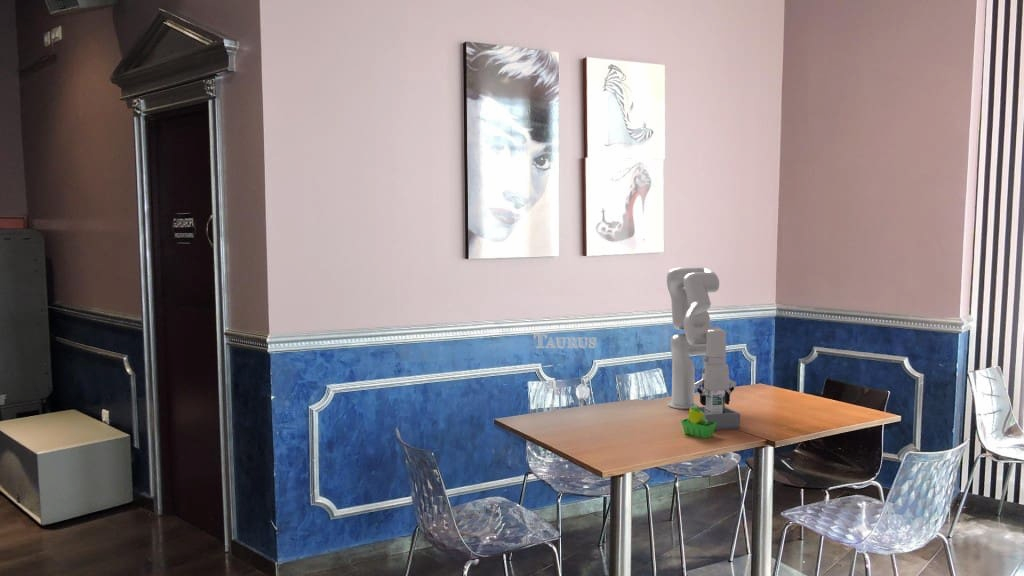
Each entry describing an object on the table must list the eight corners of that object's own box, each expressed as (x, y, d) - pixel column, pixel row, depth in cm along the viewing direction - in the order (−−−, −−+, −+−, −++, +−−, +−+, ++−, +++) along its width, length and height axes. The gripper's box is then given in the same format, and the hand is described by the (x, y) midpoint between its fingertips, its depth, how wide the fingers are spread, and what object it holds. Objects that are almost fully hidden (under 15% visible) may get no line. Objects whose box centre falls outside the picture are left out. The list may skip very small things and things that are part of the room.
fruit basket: (717, 435, 296) (718, 405, 295) (704, 440, 290) (705, 409, 289) (691, 430, 304) (691, 401, 303) (677, 434, 298) (678, 404, 297)
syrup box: (711, 425, 308) (711, 387, 307) (704, 421, 314) (704, 384, 313) (724, 424, 309) (725, 387, 308) (717, 420, 315) (717, 384, 314)
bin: (690, 422, 317) (690, 407, 317) (723, 420, 320) (723, 405, 319) (705, 430, 303) (705, 415, 303) (739, 428, 306) (739, 413, 306)
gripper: (698, 363, 304) (698, 407, 306) (740, 361, 308) (739, 405, 309) (690, 360, 312) (690, 403, 313) (731, 358, 315) (730, 401, 316)
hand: (714, 404), depth 311 cm, fingers open, 9 cm apart
